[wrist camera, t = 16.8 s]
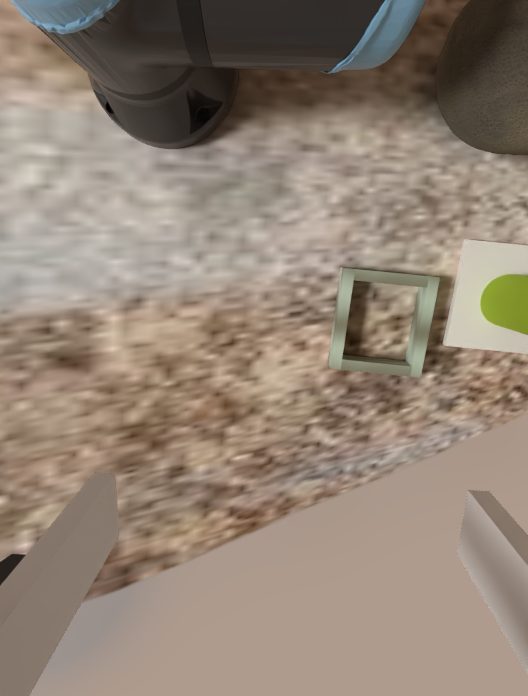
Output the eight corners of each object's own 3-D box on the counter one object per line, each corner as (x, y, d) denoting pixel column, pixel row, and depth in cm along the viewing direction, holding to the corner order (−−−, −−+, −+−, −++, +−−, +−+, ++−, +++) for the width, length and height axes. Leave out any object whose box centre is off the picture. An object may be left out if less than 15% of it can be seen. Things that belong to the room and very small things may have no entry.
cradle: (340, 267, 45) (344, 268, 43) (431, 276, 45) (440, 277, 43) (327, 362, 48) (330, 368, 45) (413, 371, 48) (420, 377, 45)
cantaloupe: (398, 160, 42) (461, 110, 28) (434, 8, 39) (526, -139, 25) (527, 183, 42) (657, 145, 28) (573, 33, 39) (748, -99, 25)
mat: (464, 239, 44) (467, 239, 43) (572, 250, 44) (577, 250, 43) (442, 344, 47) (445, 345, 46) (544, 354, 47) (548, 356, 46)
